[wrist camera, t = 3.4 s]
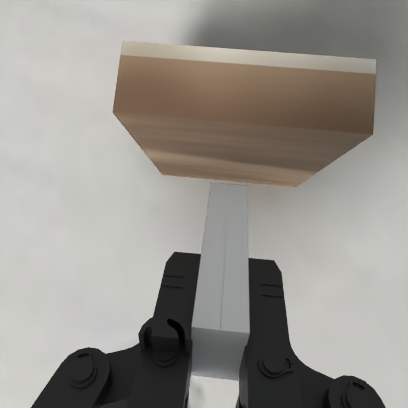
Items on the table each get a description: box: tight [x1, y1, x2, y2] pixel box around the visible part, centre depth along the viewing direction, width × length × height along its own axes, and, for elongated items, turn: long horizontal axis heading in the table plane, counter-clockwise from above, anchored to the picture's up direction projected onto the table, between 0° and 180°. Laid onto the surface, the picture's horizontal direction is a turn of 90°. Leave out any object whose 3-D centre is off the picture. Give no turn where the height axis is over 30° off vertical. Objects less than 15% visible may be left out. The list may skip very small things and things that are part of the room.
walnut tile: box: [113, 41, 376, 187], centre depth 19 cm, size 3×10×12 cm, turn 84°
